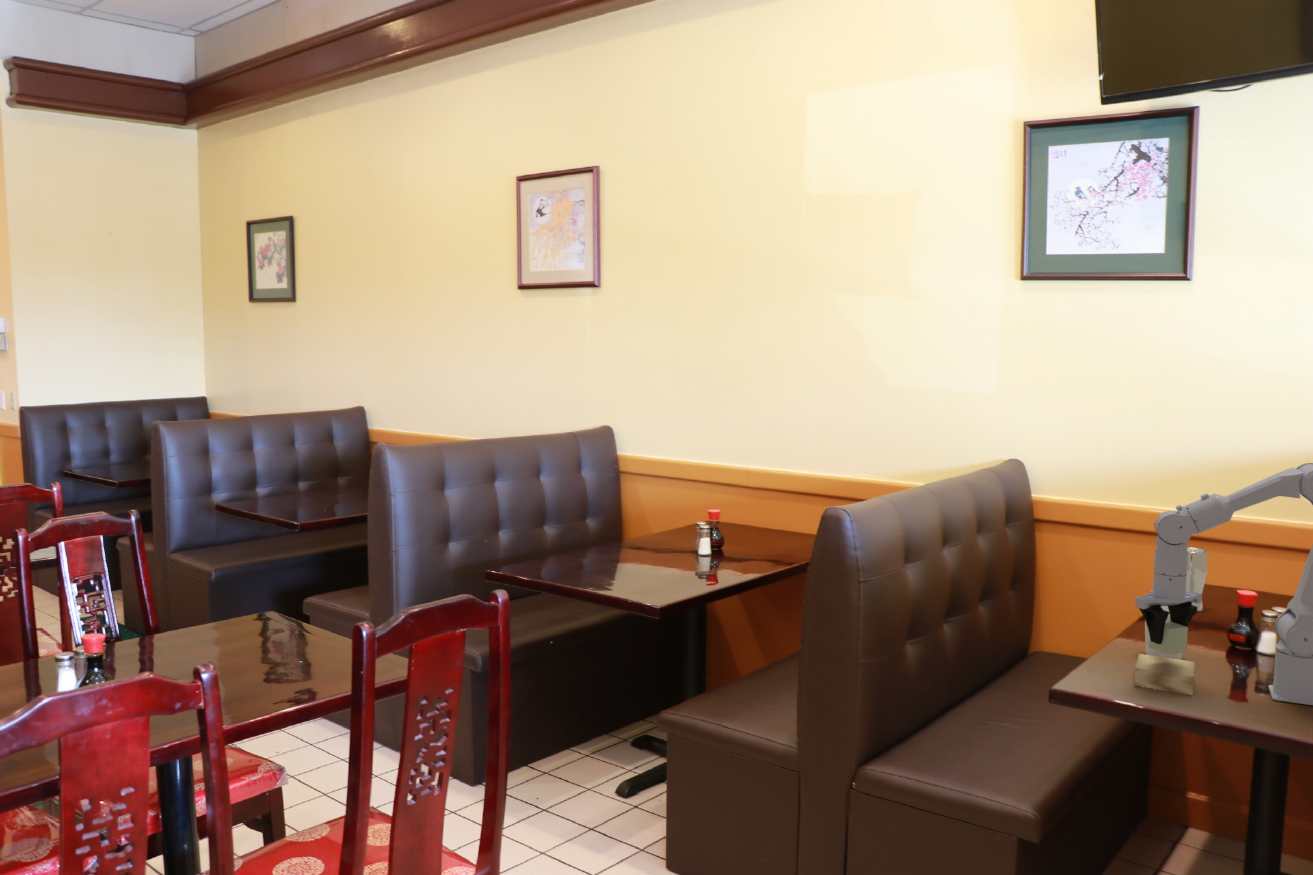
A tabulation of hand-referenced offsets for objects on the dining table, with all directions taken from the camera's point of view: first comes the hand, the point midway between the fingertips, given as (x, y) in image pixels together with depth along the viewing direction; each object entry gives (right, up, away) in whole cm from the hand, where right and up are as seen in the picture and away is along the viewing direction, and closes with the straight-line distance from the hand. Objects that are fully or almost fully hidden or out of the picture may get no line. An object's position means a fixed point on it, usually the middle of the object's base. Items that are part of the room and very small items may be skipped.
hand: (1166, 641), depth 194 cm
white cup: (+8, -7, +17) cm, 20 cm away
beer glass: (+34, -3, +55) cm, 65 cm away
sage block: (0, -2, 0) cm, 2 cm away
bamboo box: (0, -9, +1) cm, 9 cm away
